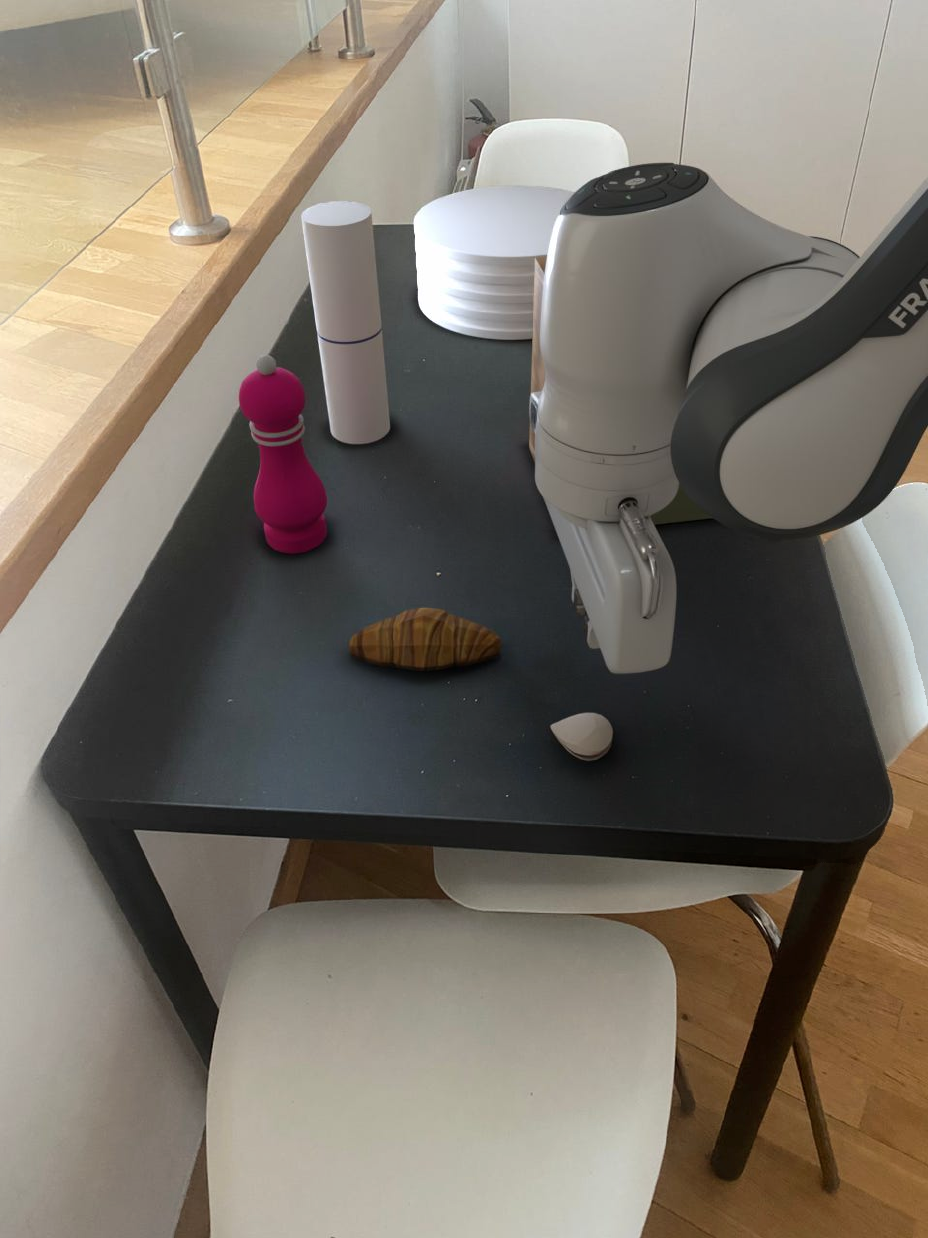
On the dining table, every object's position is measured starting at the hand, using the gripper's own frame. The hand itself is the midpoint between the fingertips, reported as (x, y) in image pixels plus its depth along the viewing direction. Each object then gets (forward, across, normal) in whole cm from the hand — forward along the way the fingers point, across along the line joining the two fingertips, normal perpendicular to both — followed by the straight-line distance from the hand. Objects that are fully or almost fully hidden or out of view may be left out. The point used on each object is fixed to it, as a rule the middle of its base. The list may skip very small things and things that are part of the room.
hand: (591, 624), depth 65 cm
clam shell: (+13, 0, 0) cm, 13 cm away
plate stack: (+13, +85, -11) cm, 87 cm away
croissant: (+13, +12, +11) cm, 21 cm away
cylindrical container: (+13, +52, +14) cm, 55 cm away
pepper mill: (+13, +32, +22) cm, 41 cm away
